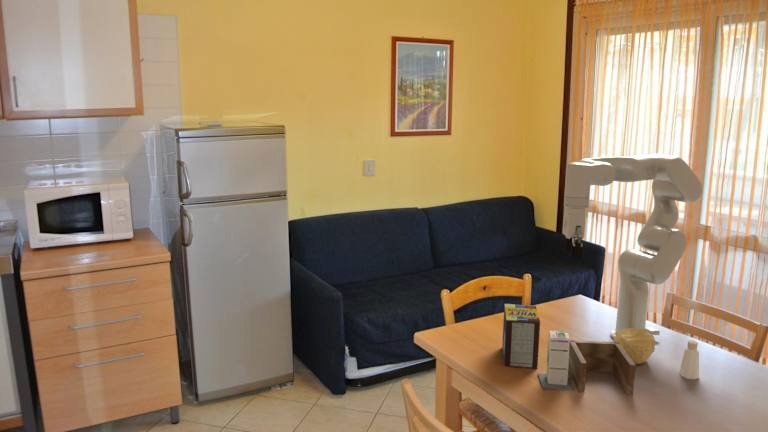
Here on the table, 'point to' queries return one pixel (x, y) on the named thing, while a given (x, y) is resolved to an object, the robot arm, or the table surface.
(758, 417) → the table surface
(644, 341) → the sculpture
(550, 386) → the mat
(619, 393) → the table surface
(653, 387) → the table surface
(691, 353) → the salt shaker
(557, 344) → the syrup box
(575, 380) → the wooden u-shaped stand
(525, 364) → the protein box
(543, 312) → the table surface
